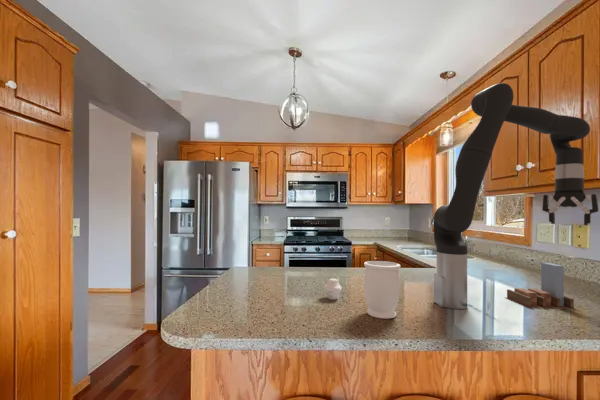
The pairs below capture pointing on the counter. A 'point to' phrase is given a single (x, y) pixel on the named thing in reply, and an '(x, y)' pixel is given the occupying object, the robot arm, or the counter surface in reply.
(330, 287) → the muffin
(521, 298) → the rack
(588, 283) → the counter surface
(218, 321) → the counter surface
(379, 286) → the jar
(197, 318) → the counter surface
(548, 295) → the offcut
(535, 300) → the offcut
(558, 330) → the counter surface
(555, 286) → the tall board
